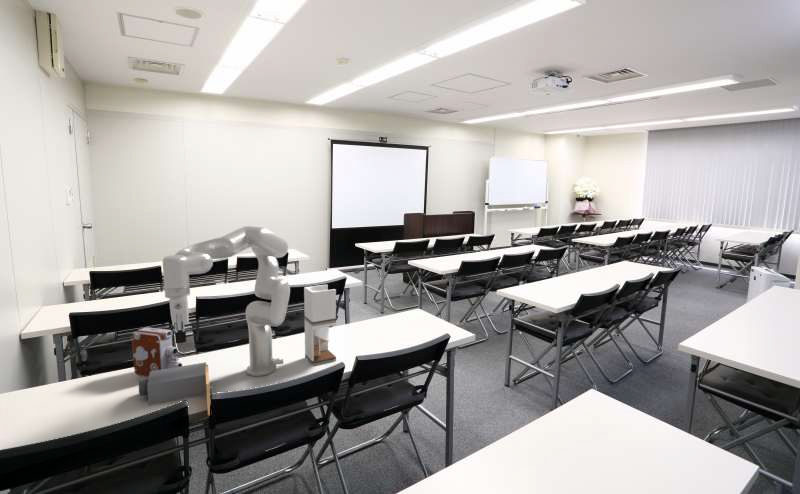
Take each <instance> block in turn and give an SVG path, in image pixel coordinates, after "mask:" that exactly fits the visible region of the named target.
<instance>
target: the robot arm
mask: <svg viewBox="0 0 800 494" xmlns="http://www.w3.org/2000/svg"><path fill="white" fill-rule="evenodd" d="M250 248H251V251H252V252H253V254H254V255H255V256H256V259H257V261H258V269H257V276H256V279H255V284H254V295H255V296H256V297H258V298H260V299H265V300H271V302H267V301H262V300H255V301H252V302H250V303H249V304H247V305H246V308H245V320H246V322H247V323H246V324H247V327H248V329H247V330H248V345H249V347H248V348H249V350H248V351H249V366H247V367H246V369H245V370H246V374H247V375H249V376H250V377H251V376H252V377H262V376H263V377H264V376H268V375H270V374H273V373H274V372H275V371H276V370H277V366H278V365H282V364H284V359H280V358H279V357H278V358H273V338H272V337H273V333H272V332H273V331H272V328H271V327H279V326H281V325H282V324H283V322H284V321H285V319H286V314H287V311H288V305H289V301H290V296H291V295H290V294H291V286H290V284H289V282H288V281H286V280H285V279H283V278H278V275H279V269H280V266H279V262H278V259H279V258H283V257H284V256H286V255H287V253H288V252H289V251H288V250H289V245H288V243H287V241H286V239H285V238H283V237H281V236H279V235H278V234H276V233H275V232H274V231H271V230H269V229H267V228H265V227H261V226H242V227H240V228H237V229H236V230H234V231H231V232H229V233H227V234H225V235H223V236H221V237H215V238H212V239H208V240H204V241H200V242H197V243H194V244H190V245H189V246H187V247H185V248H182V249H180V250H178V251H177V252H176V253H175V254H172V255H167V256H165V257H163V259H162V272H163V285H164V286H163V287H164V289H163V290H164V297H165V298H167V299H169V310H170V311H169V312H170V318H171V322H172V326H173V327H174V329H175V330H174V337H175V340H174V341H175V343H176V344H184V343H186V342H187V335H186V334H187V332H186V329H185V325H187V326H188V325H189V321H190V318H189V317H190V315H189V304H188V303H189V302H188V297H189V296H190V295H191V289H190V287H191V286H190V275H200V274H206V273H207V272H210V270H211V268H212V267H213V265H214V264H213V263H214V260H220V259H221V260H223V259H227V258H228V259H229V258H231V257H232V258H233V257H234V256H236V255H237V254H239V253H241V252H243V251H245V250H246V249H250Z"/></svg>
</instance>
